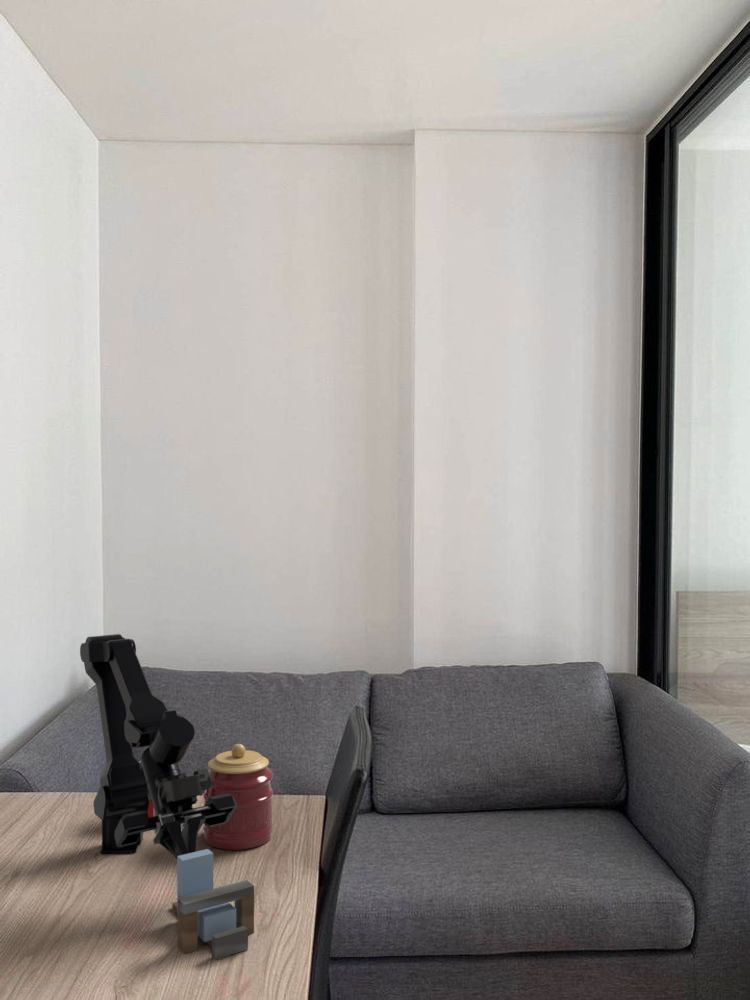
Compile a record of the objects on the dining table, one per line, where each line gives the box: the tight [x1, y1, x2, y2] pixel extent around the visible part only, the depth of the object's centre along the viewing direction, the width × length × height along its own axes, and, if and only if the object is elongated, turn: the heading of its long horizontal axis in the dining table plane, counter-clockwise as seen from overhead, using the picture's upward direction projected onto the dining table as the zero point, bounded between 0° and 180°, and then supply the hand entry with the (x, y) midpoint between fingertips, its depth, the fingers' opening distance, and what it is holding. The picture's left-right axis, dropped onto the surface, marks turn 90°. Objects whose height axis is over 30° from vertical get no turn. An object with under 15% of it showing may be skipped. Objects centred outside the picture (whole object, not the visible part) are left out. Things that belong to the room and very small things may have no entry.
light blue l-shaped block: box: [176, 848, 236, 943], centre depth 138 cm, size 10×5×9 cm, turn 34°
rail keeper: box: [171, 879, 255, 960], centre depth 138 cm, size 18×11×7 cm, turn 34°
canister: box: [202, 743, 274, 851], centre depth 173 cm, size 13×13×18 cm
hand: (191, 870), depth 142 cm, fingers closed
